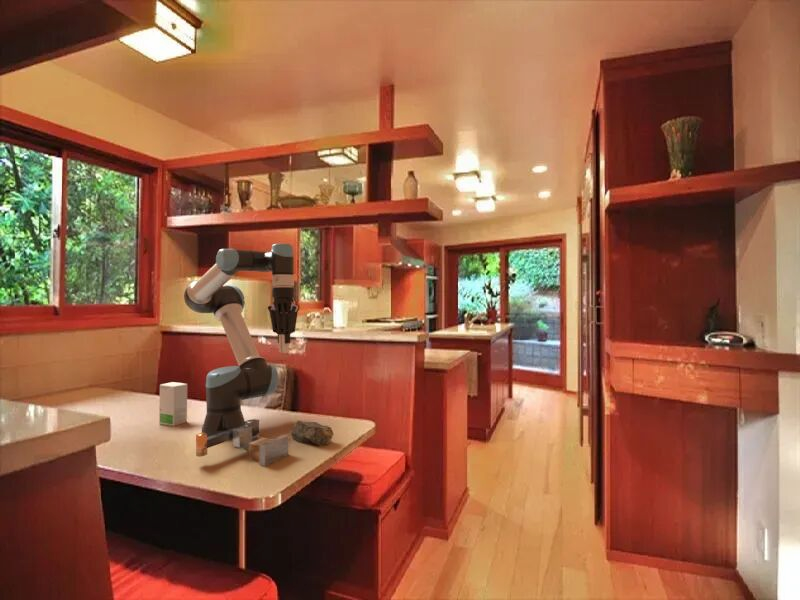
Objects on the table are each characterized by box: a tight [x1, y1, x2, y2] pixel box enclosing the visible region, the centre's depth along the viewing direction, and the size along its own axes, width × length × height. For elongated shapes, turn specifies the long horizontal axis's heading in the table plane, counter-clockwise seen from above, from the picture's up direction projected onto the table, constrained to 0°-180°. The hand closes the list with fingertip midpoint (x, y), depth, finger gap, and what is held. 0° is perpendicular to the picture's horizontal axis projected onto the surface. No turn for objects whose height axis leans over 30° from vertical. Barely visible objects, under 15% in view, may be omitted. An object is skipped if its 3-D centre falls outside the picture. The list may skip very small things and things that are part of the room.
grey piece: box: [234, 433, 289, 467], centre depth 138 cm, size 21×16×6 cm
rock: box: [290, 420, 334, 446], centre depth 148 cm, size 17×7×10 cm
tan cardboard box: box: [248, 437, 273, 463], centre depth 133 cm, size 5×6×5 cm
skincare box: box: [158, 381, 188, 427], centre depth 171 cm, size 8×7×16 cm
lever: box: [195, 418, 260, 458], centre depth 135 cm, size 7×23×6 cm, turn 151°
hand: (284, 352), depth 155 cm, fingers closed
